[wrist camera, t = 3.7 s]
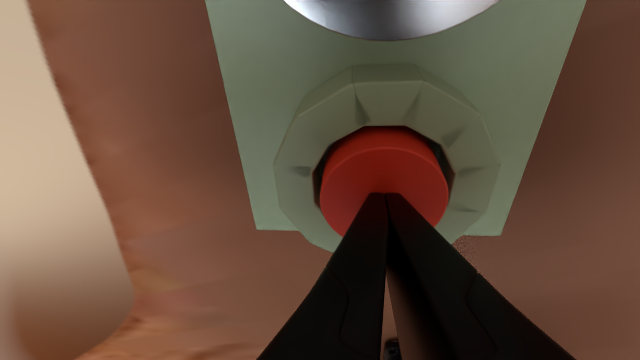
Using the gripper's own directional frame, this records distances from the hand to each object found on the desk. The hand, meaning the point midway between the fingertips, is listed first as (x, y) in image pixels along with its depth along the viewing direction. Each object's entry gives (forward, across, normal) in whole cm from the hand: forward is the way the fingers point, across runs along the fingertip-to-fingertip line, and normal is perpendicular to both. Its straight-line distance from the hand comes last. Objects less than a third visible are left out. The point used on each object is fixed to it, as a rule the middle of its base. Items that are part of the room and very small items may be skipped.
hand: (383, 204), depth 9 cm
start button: (+2, 0, 0) cm, 2 cm away
